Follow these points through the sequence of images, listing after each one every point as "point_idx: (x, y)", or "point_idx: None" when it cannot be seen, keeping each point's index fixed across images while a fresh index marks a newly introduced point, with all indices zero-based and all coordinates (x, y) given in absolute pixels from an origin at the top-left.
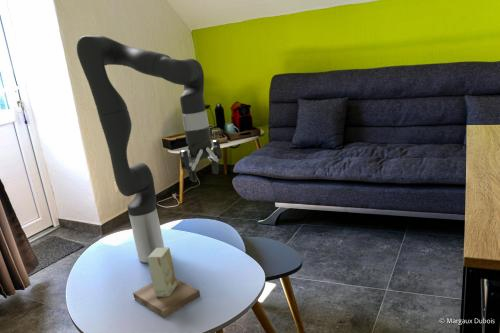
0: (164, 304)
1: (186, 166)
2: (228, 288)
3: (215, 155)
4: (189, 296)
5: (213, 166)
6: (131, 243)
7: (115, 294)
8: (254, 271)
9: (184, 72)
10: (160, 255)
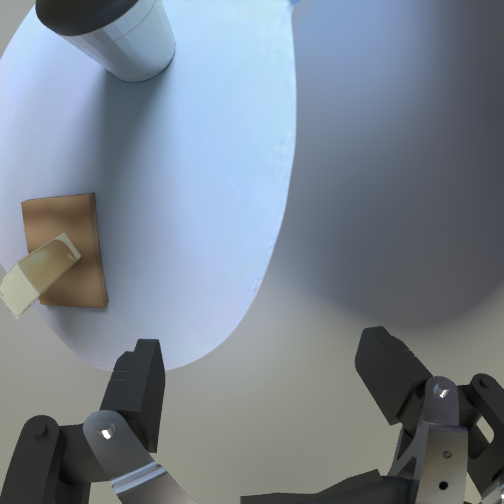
0: (46, 290)
1: (60, 488)
2: (157, 323)
3: (475, 408)
4: (84, 306)
5: (385, 381)
6: None
7: (16, 152)
8: (230, 321)
9: None
10: (16, 312)
